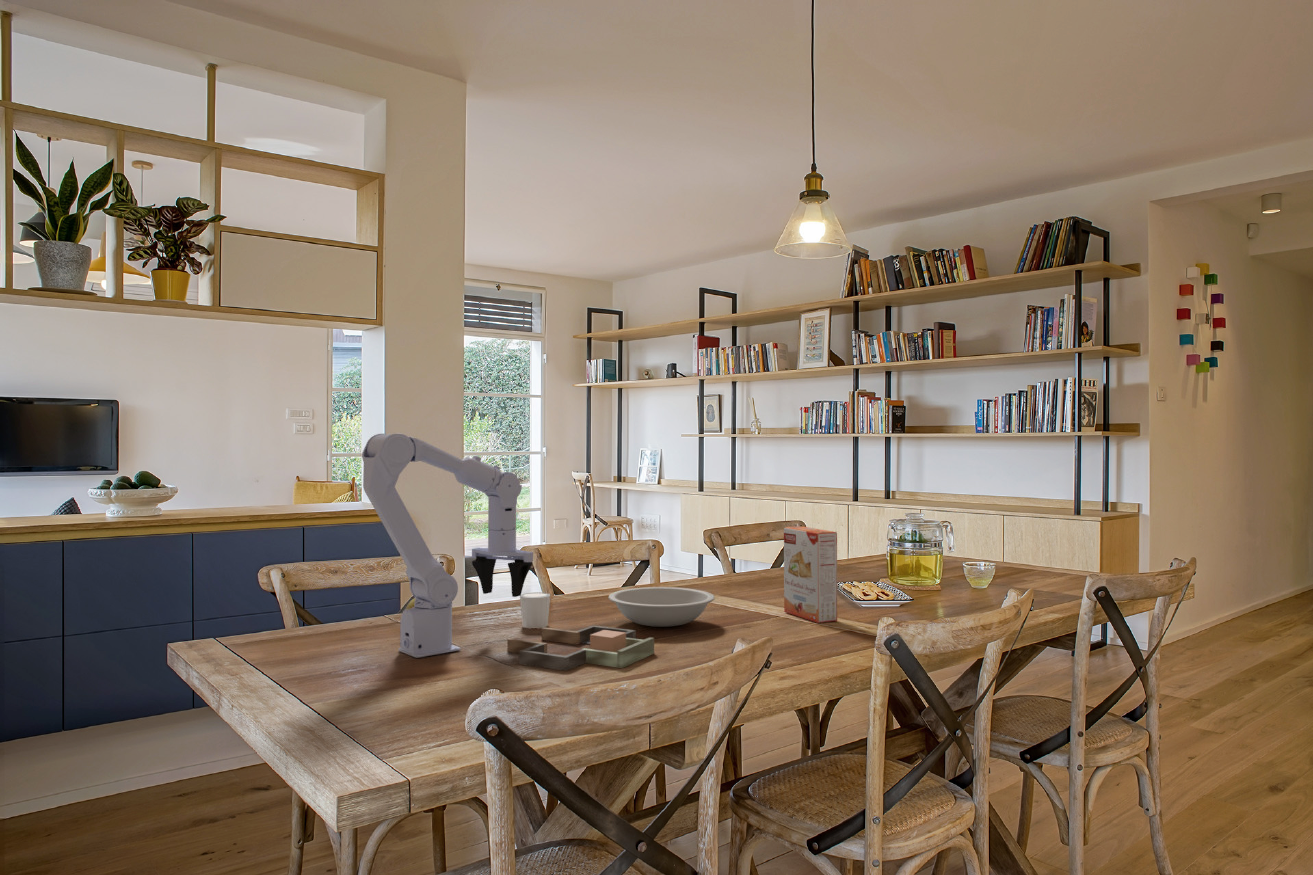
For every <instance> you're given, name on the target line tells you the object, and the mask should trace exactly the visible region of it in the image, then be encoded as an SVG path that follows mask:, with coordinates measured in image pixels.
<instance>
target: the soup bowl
mask: <svg viewBox="0 0 1313 875" xmlns="http://www.w3.org/2000/svg"><path fill="white" fill-rule="evenodd" d="M715 598H716V597H715V595H714V594H712V593H711V592H708V591H705V590H699V589H695V588H694V589H693V588H687V587H672V586H671V587H666V586H665V587H664V586H658V587H657V586H656V587H655V586H652V587H651V586H647V587H636V588H635V587H634V588H628V589H627V588H626V589H622V590H618V591H615V592H611V593H610V594H609V595H608V600H609V601H611V602H612V603H615V606H616V608H617V609H618V610H619V612H620V613H621V614H622V615H623V616H624V617H625V618H626V619H627V620H629V621H631V622H633V623H634V624H637V625H642V626H647V627H659V628H661V627H662V628H663V627H664V628H665V627H667V628H668V627H677V626H683V625H686V624H688V623H689V624H690V623H691V622H693V621H694V620H696V619H697V618H698V617H700V616H701V615H702V613H703V612H704V611H706V610H705V609H706V608H707V607H708V605H709V604H710V603H712V602H713V601H714V600H715Z"/></svg>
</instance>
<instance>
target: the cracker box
mask: <svg viewBox="0 0 1313 875" xmlns="http://www.w3.org/2000/svg"><path fill="white" fill-rule="evenodd" d="M783 592H784V593H783V597H784V598H783V603H784V604H783V606H784V607H783V609H784V611H783V612H784V613H787V614H790V615H793V616H795V617H798V618H802V619H803V620H804V619H805V620H807V621H810V622H813V623H817V624H822V623H823V624H824V623H830V622H837V621H838V532H837V531H833V530H825V529H819V528H814V527H809V526H808V527H807V526H802V525H800V526H786V527H784V528H783Z"/></svg>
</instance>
